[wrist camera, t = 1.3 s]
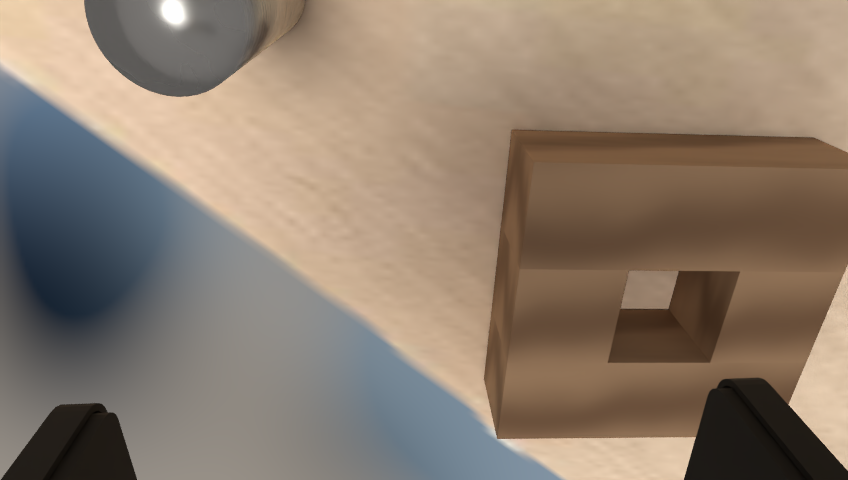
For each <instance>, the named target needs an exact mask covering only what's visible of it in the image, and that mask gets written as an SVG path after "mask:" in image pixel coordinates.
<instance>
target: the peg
mask: <svg viewBox="0 0 848 480" xmlns="http://www.w3.org/2000/svg"><path fill="white" fill-rule="evenodd" d="M84 5H85V12H86V17H87V21H88V25H89V28H90V30H91V33H92V35H93V38H94V40H95V41H96V43H97V45H98V47H99V49H100V50H101V52H102V53H103V54H104V56H105V57H106V58H107V60H108V61H109V62H110V63H111V64H112V65H113V66H114V67H115V68H116V69H117V70H118V71H119V72H120V73H121V74H122V75H124V76H125V77H126V78H127V79H129V80H130V81H132V82H133V83H135V84H137V85H138V86H140V87H143V88H145V89H147V90H149V91H152V92H155V93H158V94H162V95H167V96H176V97H183V96H192V95H198V94H201V93H204V92H207V91H209V90H211V89H213V88H215V87H216V86H218V85H219V84H220V83H222V82H223V81H224V80H226V79H227V78H228V77H230V76H231V75H232V74H233V73H235V72H236V71H237V70H239V69H240V68H241V67H243V66H244V65H245V64H246V63H248V62H249V61H250V60H252V59H253V58H254V57H255V56H257V55H258V54H259V53H261V52H262V51H263V50H265V49H266V48H267V47H268V46H270V45H271V44H272V43H274V42H275V41H276V40H278V39H279V38H280V37H281V36H283V35H284V34H285V33H287V32H288V31H289V30H290V29H292V28H293V27H294V26H295V24H296V23H297V22H298V20H299V19H300V17H301V15H302V13H303V10H304V6H305V0H84Z"/></svg>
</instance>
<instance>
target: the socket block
mask: <svg viewBox="0 0 848 480" xmlns="http://www.w3.org/2000/svg"><path fill="white" fill-rule="evenodd" d="M847 265H848V153H847V152H845V151H843V150H840V149H838V148H836V147H834V146H831V145H829V144H827V143H824V142H822V141H820V140H818V139H815V138H803V137H764V136H726V135H687V134H649V133H611V132H572V131H534V130H512V133H511V142H510V151H509V160H508V169H507V178H506V187H505V196H504V204H503V213H502V222H501V231H500V240H499V249H498V258H497V267H496V276H495V285H494V294H493V303H492V312H491V321H490V330H489V339H488V348H487V357H486V366H485V375H484V381H485V385H486V390H487V394H488V399H489V403H490V408H491V413H492V417H493V422H494V426H495V431H496V435H497V439H528V438H633V437H696V435H697V432H698V428H699V425H700V421H701V418H702V414H703V411H704V407H705V403H706V400H707V396H708V394H709V392H710V390H712V389H715V388H717V386H718V384H719V382H720V381H721V380H723V379H733V378H758V377H759V378H762V379H764V380H766V381H767V382H768V383H769V384H770V385H771V386H772V387H773V388H774V389H775V390H776V392H777V393H778V394H779V395H780V396H781V397H782V398H783V399H784V401H785V402H786V403H787V404H789V401H790V399H791V397H792V394H793V392H794V390H795V387H796V385H797V383H798V380H799V378H800V375H801V373H802V371H803V368H804V366H805V364H806V361H807V359H808V357H809V354H810V352H811V350H812V347H813V345H814V342H815V340H816V338H817V335H818V333H819V331H820V328H821V326H822V324H823V321H824V319H825V317H826V314H827V312H828V309H829V307H830V305H831V302H832V300H833V298H834V295H835V293H836V291H837V288H838V286H839V284H840V281H841V279H842V276H843V274H844V272H845V269H846V267H847ZM629 270H649V271H679V275H678V278H677V282H676V285H675V289H674V293H673V296H672V300H671V303H670V307H669V310H647V309H620V307H621V303H622V298H623V294H624V290H625V285H626V281H627V277H628V272H629Z"/></svg>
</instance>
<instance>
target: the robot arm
mask: <svg viewBox="0 0 848 480" xmlns="http://www.w3.org/2000/svg"><path fill="white" fill-rule="evenodd" d="M1 480H137V478H136V475H135V472H134V468H133V465H132V462H131V459H130V456H129V452H128V449H127V446H126V443H125V440H124V436H123V433H122V430H121V427H120V423H119V420H118V418H117V416H116V414H114V413H108V412H107V410H106V408H105V407H104V406H103V405H102V404H99V403H93V404H67V405H59V406H57V407H55V409H54V410H53V411H52V412H51V413H50V414H49V415H48V417H47V418H46V419H45V421H44V422H43V423H42V425H41V426H40V428H39V429H38V430H37V432H36V433H35V434H34V436H33V437H32V438H31V440H30V441H29V442H28V444H27V445H26V446H25V448H24V449H23V450H22V452H21V453H20V455H19V456H18V457H17V459H16V460H15V461H14V463H13V464H12V465H11V467H10V468H9V469H8V471H7V472H6V473H5V475H4V476H3V478H2V479H1ZM684 480H848V471H847V470H846V469H845V467H844V466H843V465H842V464H841V463H840V462H839V461H838V460H837V459H836V457H835V456H834V455H833V454H832V453H831V452H830V451H829V450H828V449H827V447H826V446H825V445H824V444H823V443H822V442H821V441H820V440H819V438H818V437H817V436H816V435H815V434H814V433H813V432H812V431H811V430H810V428H809V427H808V426H807V425H806V424H805V423H804V422H803V421H802V419H801V418H800V417H799V416H798V415H797V414H796V413H795V412H794V411H793V409H792V408H791V407H790V406H789V405H788V404H787V403H786V402H785V401H784V399H783V398H782V397H781V396H780V395H779V394H778V393H777V392H776V390H775V389H774V388H773V387H772V386H771V385H770V384H769V383H768V382H767V381H766V380H764V379H762V378H759V377H758V378H733V379H723V380H721V381H720V382H719V384H718V386H717V388H715V389H712V390H710V392H709V394H708V396H707V400H706V403H705V407H704V411H703V414H702V418H701V421H700V425H699V428H698V432H697V435H696V439H695V442H694V446H693V450H692V453H691V457H690V460H689V464H688V467H687V471H686V474H685V478H684Z"/></svg>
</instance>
